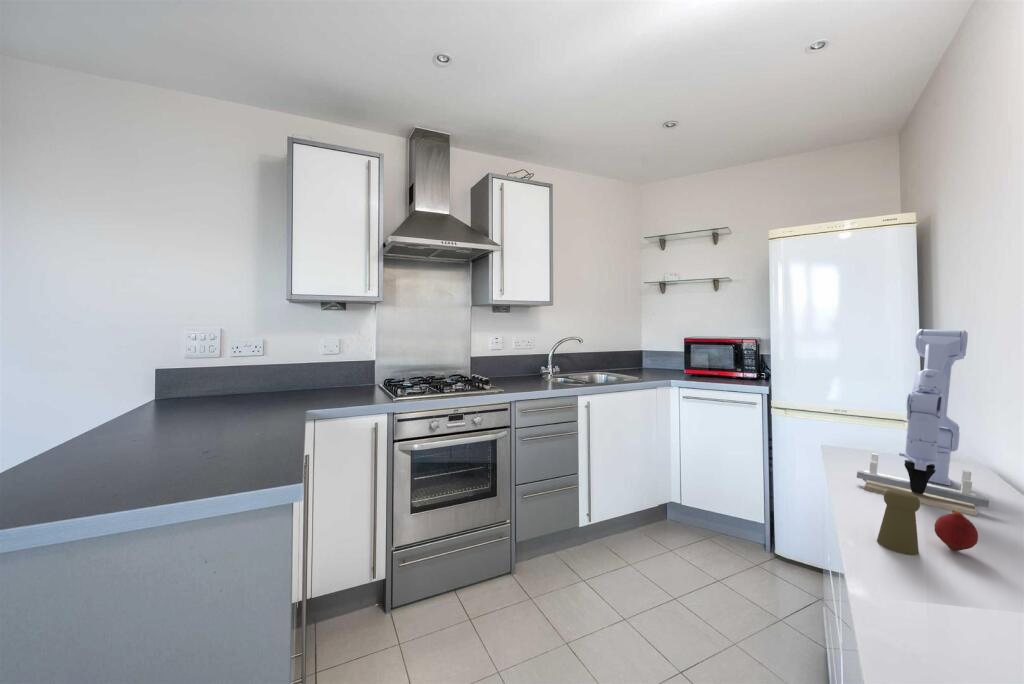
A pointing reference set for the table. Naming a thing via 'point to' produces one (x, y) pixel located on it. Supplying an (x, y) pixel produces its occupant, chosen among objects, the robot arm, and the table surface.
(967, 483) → the bracket stand
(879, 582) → the table surface
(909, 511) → the cork
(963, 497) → the steel rail
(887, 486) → the beech board
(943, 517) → the onion
